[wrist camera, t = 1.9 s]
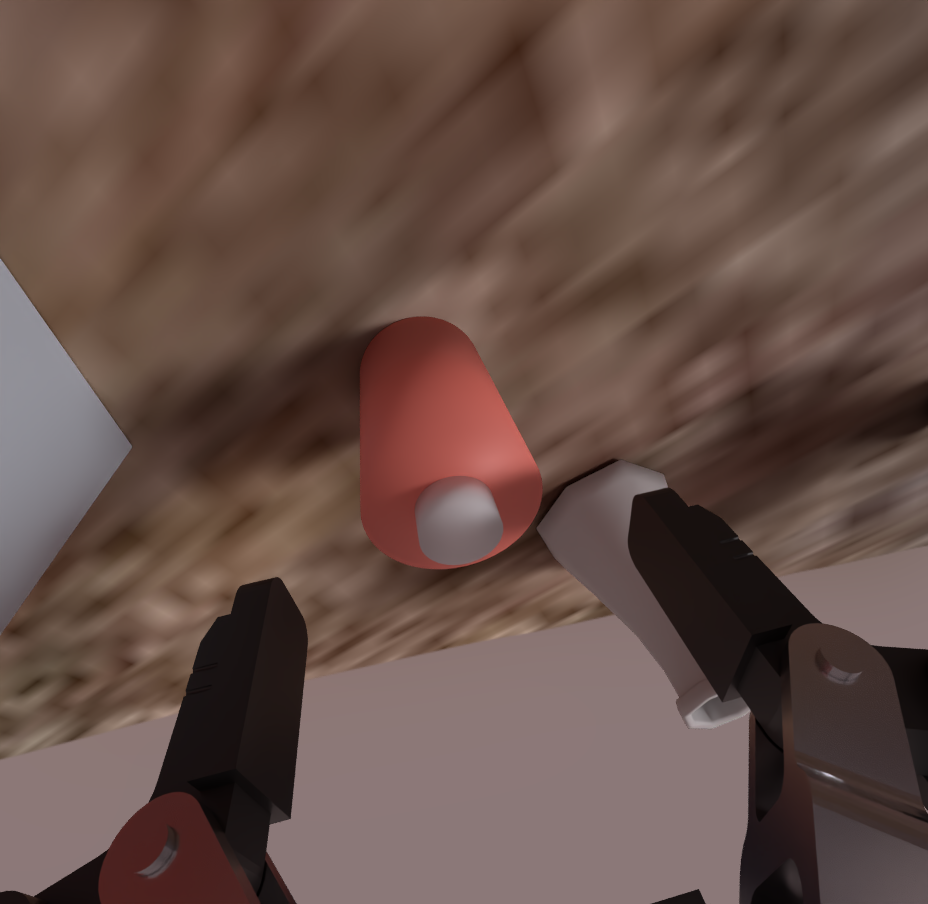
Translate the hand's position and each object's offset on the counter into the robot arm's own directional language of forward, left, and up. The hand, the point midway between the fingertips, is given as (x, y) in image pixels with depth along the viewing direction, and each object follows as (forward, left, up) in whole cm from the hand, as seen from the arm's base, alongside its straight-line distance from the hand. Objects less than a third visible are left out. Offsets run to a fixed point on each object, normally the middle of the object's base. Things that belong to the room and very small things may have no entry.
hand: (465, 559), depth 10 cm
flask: (+10, +8, -9) cm, 16 cm away
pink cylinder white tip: (0, 0, -9) cm, 9 cm away
